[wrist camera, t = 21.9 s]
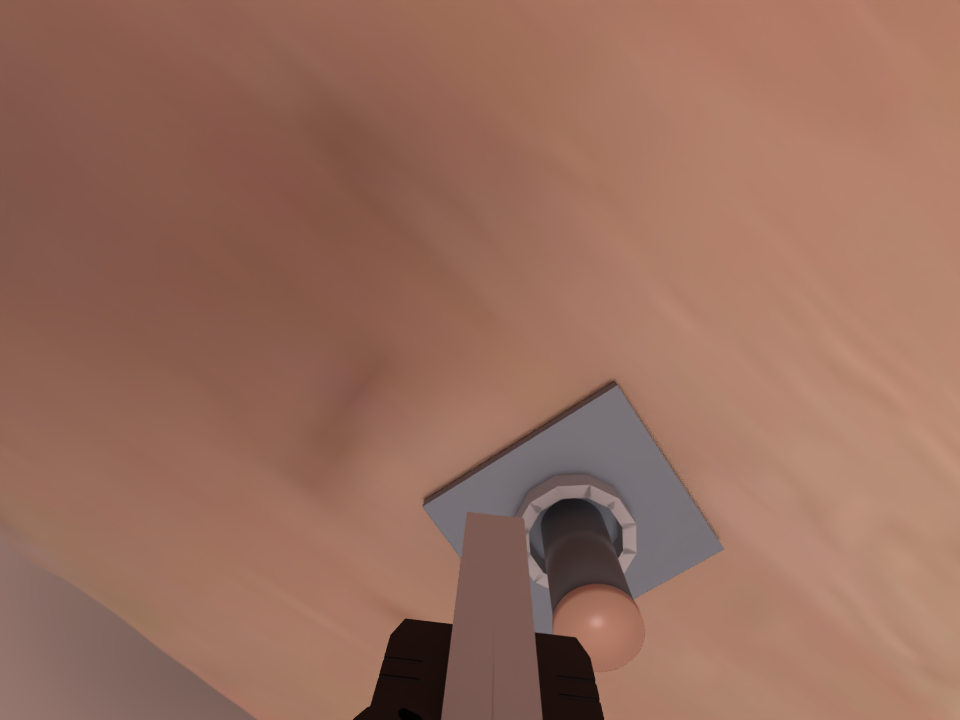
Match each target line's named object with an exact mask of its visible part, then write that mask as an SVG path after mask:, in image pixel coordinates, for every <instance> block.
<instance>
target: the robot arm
mask: <svg viewBox="0 0 960 720" xmlns="http://www.w3.org/2000/svg"><path fill="white" fill-rule="evenodd" d="M353 720H604V716H603V712H602V707H601V703H599V694H598V689H597V685H596V684H595V676H594V671H593V667H592V662H591V658H590V656H589V655H588V653H587V652H586V651H585V649H584V648H583V646H582V645H581V643H580V642H579V641H578V639H577V638H576V637H570V636H562V635H553V634H545V633H537V632H535V631H534V620H533V609H532V599H531V588H530V577H529V566H528V555H527V544H526V533H525V522H524V518H516V517H507V516H499V515H490V514H482V513H473V512H467V515H466V523H465V531H464V539H463V547H462V555H461V563H460V571H459V579H458V587H457V595H456V603H455V611H454V620H453V624H447V623H438V622H430V621H422V620H413V619H405V620H404V621H403V622H402V623H401V624H400V625H399V626H398V627H397V628H396V630H395V631H394V632H393V633H392V634H391V635H390V638H389V642H388V645H387V649H386V653H385V656H384V660H383V663H382V667H381V670H380V674H379V678H378V681H377V684H376V688H375V691H374V695H373V699H372V702H371V706H369V707H367V708H366V709H365V710H363V711H362V712H361V713H360V714H359V715H357V716H356V717H355V718H354V719H353Z"/></svg>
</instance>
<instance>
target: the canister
mask: <svg viewBox="0 0 960 720" xmlns="http://www.w3.org/2000/svg"><path fill="white" fill-rule="evenodd" d="M541 533H542V541H543V548H544V556H545V563H546V570H547V578H548V585H549V593H550V600H551V608H552V615H553V619H552V628H553V635H562V636H570V637H576V638H577V639H578V641H579V642H580V643H581V645H582V646H583V648H584V649H585V651H586V652H587V653H588V655H589V656H590V658H591V662H592V667H593V671H594V672H607V671H612V670H615V669H618V668H620V667H622V666H624V665H626V664H627V663H629V662H630V661H631V660H632V659H633V658H634V657H635V656H636V655H637V654H638V652H639V651H640V649H641V647H642V645H643V642H644V637H645V626H644V622H643V619H642V616H641V614H640V611H639V609H638V606H637V605H636V603H635V602H634V600H633V597H632V595H631V592H630V589H629V587H628V584H627V581H626V578H625V576H624V573H623V570H622V568H621V565H620V562H619V560H618V557H617V554H616V552H615V549H614V546H613V544H612V541H611V538H610V536H609V533H608V530H607V528H606V525H605V522H604V520H603V517H602V515H601V513H600V511H599V510H598V509H597V508H596V507H595V506H594V505H593V504H591V503H590V502H588V501H586V500H583V499H578V498H569V499H563V500H560V501H558V502H556V503H554V504H553V505H552V506H551V507H549V509H548V510H547V511H546V512H545V514H544V516H543V518H542V522H541Z"/></svg>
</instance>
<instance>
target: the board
mask: <svg viewBox="0 0 960 720" xmlns="http://www.w3.org/2000/svg"><path fill="white" fill-rule="evenodd" d="M569 498H578V499H583V500H586V501H588V502H590V503H591V504H593V505H594V506H595V507H596V508H597V509H598V510H599V511H600V513H601V515H602V517H603V520H604V522H605V525H606V528H607V530H608V533H609V536H610V538H611V541H612V544H613V546H614V549H615V552H616V554H617V557H618V560H619V562H620V565H621V568H622V570H623V573H624V576H625V578H626V581H627V584H628V587H629V589H630V592H631V595H632V597H633V599H635V598H637V597H639V596H640V595H642V594H644V593H646V592H648V591H649V590H651V589H653V588H655V587H657V586H658V585H660V584H662V583H664V582H666V581H668V580H669V579H671V578H673V577H675V576H677V575H678V574H680V573H682V572H684V571H686V570H687V569H689V568H691V567H693V566H695V565H697V564H698V563H700V562H702V561H704V560H706V559H707V558H709V557H711V556H713V555H715V554H716V553H718V552H720V551H722V550H724V548H723V546H722V545H721V543H720V542H719V540H718V539H717V537H716V536H715V534H714V532H713V531H712V529H711V528H710V526H709V525H708V523H707V522H706V520H705V519H704V517H703V516H702V514H701V513H700V511H699V509H698V508H697V506H696V505H695V503H694V502H693V500H692V499H691V497H690V496H689V494H688V493H687V491H686V489H685V488H684V486H683V485H682V483H681V482H680V480H679V479H678V477H677V476H676V474H675V473H674V471H673V470H672V468H671V466H670V465H669V463H668V462H667V460H666V459H665V457H664V456H663V454H662V453H661V451H660V450H659V448H658V447H657V445H656V443H655V442H654V440H653V439H652V437H651V436H650V434H649V433H648V431H647V430H646V428H645V427H644V425H643V424H642V422H641V420H640V419H639V417H638V416H637V414H636V413H635V411H634V410H633V408H632V407H631V405H630V404H629V402H628V401H627V399H626V397H625V396H624V394H623V393H622V391H621V390H620V388H619V387H618V385H617V384H616V383H615V382H612V383H611V384H609V385H608V386H606V387H604V388H603V389H601V390H600V391H598V392H596V393H595V394H593V395H592V396H590V397H588V398H587V399H585V400H584V401H582V402H580V403H579V404H577V405H576V406H574V407H572V408H571V409H569V410H568V411H566V412H564V413H563V414H561V415H560V416H558V417H556V418H555V419H553V420H552V421H550V422H548V423H547V424H545V425H544V426H542V427H540V428H539V429H537V430H536V431H534V432H532V433H531V434H529V435H528V436H526V437H524V438H523V439H521V440H520V441H518V442H516V443H515V444H513V445H512V446H510V447H508V448H507V449H505V450H504V451H502V452H500V453H499V454H497V455H496V456H494V457H492V458H491V459H489V460H488V461H486V462H484V463H483V464H481V465H480V466H478V467H476V468H475V469H473V470H472V471H470V472H468V473H467V474H465V475H464V476H462V477H460V478H459V479H457V480H456V481H454V482H452V483H451V484H449V485H448V486H446V487H444V488H443V489H441V490H440V491H438V492H436V493H435V494H433V495H432V496H430V497H428V498H427V499H425V500H424V503H423V506H422V507H423V508H424V510H425V511H426V512H427V514H428V515H429V516H430V518H431V519H432V520H433V522H434V523H435V524H436V526H437V527H438V528H439V530H440V531H441V532H442V534H443V535H444V536H445V538H446V539H447V540H448V542H449V543H450V544H451V546H452V547H453V549H454V550H455V551H456V553H457V554H458V555H459V557H460V558H461V555H462V547H463V539H464V531H465V523H466V515H467V512H473V513H482V514H490V515H499V516H507V517H516V518H524V522H525V533H526V544H527V555H528V566H529V577H530V588H531V599H532V609H533V620H534V631H535V632H537V633H545V634H553V628H552V619H553V615H552V608H551V600H550V593H549V585H548V578H547V570H546V563H545V556H544V548H543V541H542V533H541V522H542V518H543V516H544V514H545V512H546V511H547V510H548V509H549V507H551V506H552V505H553V504H554V503H556V502H558V501H560V500H563V499H569Z"/></svg>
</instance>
